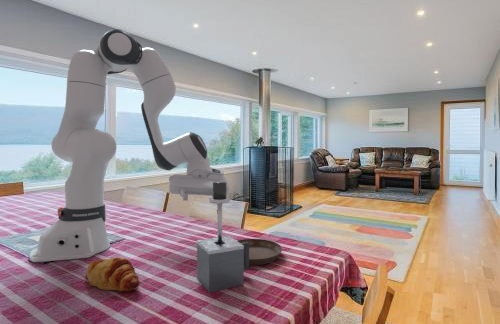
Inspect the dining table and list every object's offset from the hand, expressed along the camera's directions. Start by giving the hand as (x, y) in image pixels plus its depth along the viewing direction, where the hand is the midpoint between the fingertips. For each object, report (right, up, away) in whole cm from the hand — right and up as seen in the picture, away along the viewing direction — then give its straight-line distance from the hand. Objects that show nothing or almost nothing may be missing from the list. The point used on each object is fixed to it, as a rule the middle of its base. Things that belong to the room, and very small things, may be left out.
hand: (200, 199), depth 105 cm
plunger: (+9, -8, -24) cm, 27 cm away
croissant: (-18, -18, -24) cm, 35 cm away
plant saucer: (+17, -17, -5) cm, 25 cm away
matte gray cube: (+10, -18, -22) cm, 30 cm away
